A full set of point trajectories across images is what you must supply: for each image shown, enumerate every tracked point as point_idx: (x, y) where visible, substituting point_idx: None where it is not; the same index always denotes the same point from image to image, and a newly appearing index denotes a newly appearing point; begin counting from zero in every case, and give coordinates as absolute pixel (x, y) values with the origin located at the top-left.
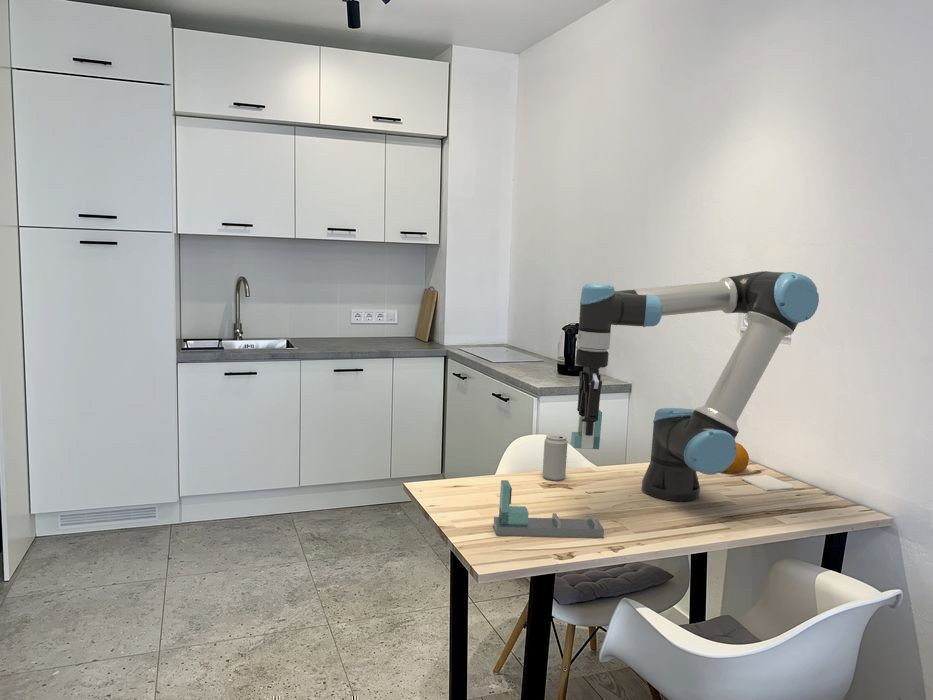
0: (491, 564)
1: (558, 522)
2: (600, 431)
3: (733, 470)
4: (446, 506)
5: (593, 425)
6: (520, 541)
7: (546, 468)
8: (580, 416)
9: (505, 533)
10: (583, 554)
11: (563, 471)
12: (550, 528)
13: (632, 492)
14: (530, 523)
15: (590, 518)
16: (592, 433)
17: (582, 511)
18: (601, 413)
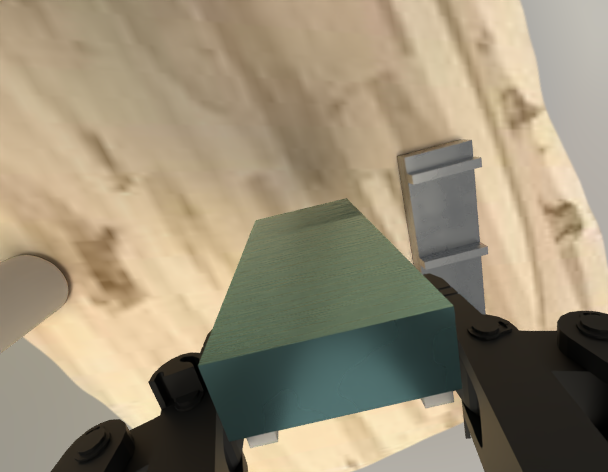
0: None
1: (484, 252)
2: (371, 226)
3: None
4: (348, 444)
5: None
6: (500, 305)
7: (46, 317)
8: (256, 437)
9: None
10: (555, 183)
11: (29, 267)
12: (481, 263)
13: (43, 36)
14: None
15: (438, 177)
16: (444, 280)
17: (289, 194)
18: (445, 306)
